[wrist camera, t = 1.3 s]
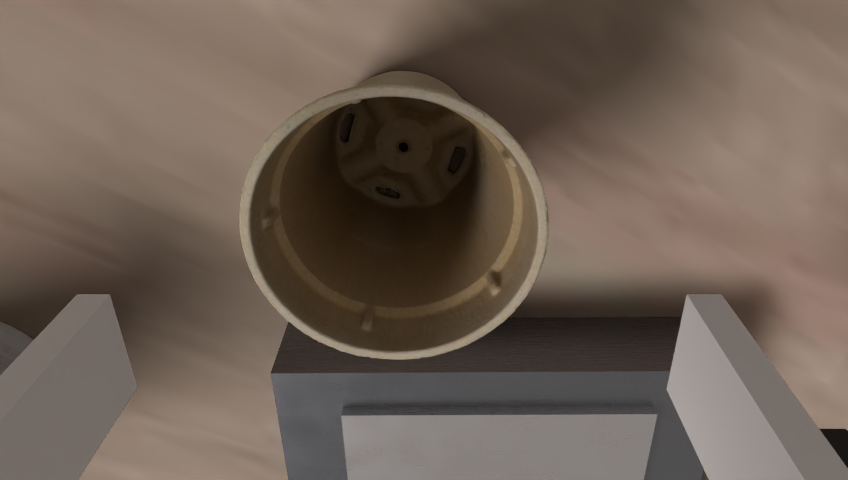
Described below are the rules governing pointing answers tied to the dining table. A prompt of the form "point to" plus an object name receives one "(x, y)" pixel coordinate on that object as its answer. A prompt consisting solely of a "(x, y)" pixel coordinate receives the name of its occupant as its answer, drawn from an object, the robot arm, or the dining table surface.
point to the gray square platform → (489, 406)
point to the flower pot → (393, 220)
